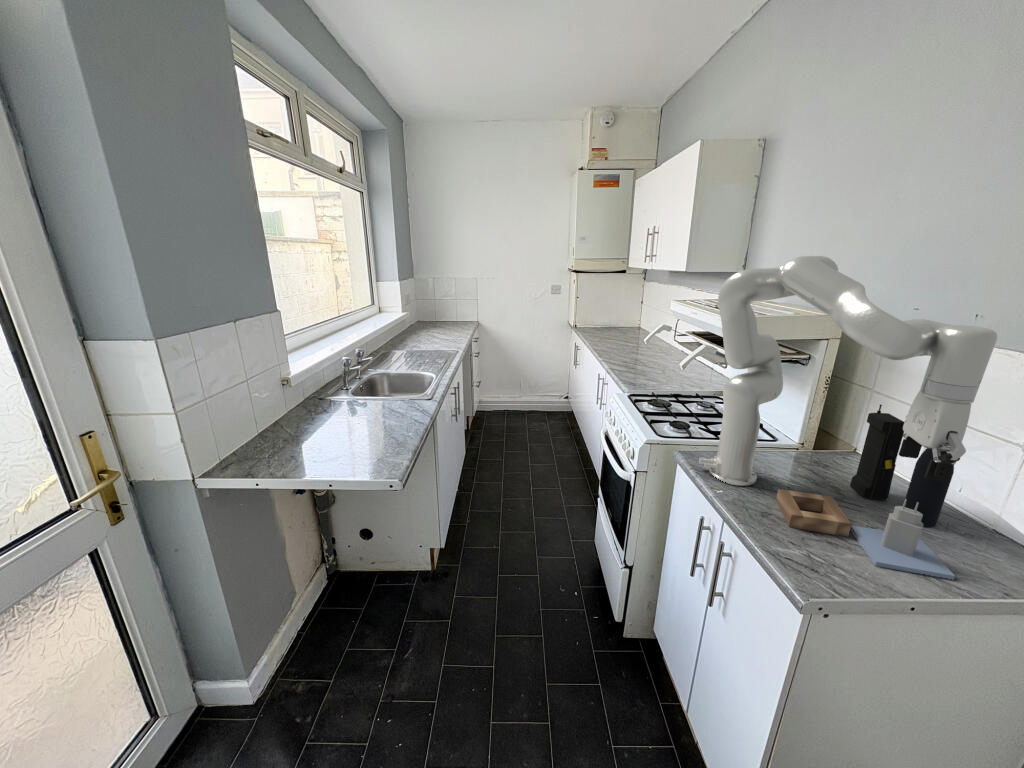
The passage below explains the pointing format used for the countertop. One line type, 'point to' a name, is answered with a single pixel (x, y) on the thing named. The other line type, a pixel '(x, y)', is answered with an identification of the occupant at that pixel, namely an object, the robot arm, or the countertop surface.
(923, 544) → the blue square plate
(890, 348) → the robot arm
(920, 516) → the power adapter
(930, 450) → the black water bottle
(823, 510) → the walnut collar
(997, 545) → the countertop surface
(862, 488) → the portable radio
